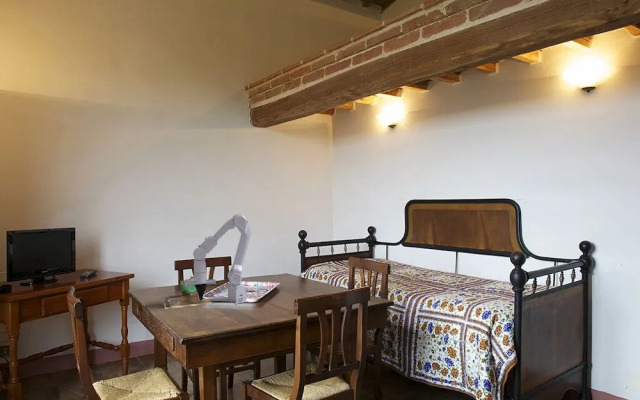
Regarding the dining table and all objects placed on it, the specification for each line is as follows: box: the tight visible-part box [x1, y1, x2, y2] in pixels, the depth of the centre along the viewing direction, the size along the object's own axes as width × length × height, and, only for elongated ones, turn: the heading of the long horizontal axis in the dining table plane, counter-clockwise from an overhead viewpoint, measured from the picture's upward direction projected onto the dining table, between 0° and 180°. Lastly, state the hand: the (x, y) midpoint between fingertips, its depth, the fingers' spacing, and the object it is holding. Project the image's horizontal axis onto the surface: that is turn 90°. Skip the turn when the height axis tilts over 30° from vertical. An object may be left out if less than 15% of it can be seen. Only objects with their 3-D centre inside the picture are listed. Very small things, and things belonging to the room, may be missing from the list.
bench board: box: [163, 297, 213, 310], centre depth 224 cm, size 22×12×2 cm, turn 112°
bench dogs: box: [164, 296, 171, 307], centre depth 220 cm, size 2×6×4 cm, turn 22°
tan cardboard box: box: [179, 294, 199, 306], centre depth 224 cm, size 8×6×3 cm
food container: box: [179, 276, 197, 297], centre depth 243 cm, size 12×6×10 cm, turn 168°
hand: (201, 299), depth 226 cm, fingers closed
